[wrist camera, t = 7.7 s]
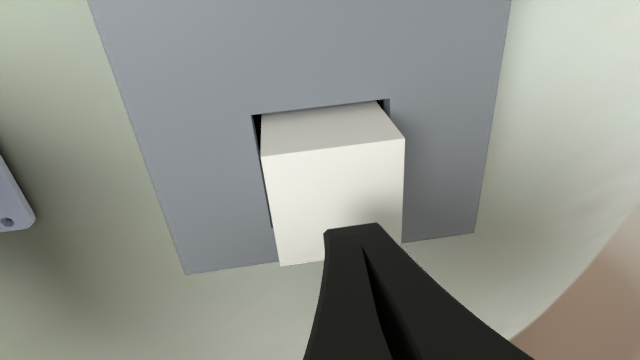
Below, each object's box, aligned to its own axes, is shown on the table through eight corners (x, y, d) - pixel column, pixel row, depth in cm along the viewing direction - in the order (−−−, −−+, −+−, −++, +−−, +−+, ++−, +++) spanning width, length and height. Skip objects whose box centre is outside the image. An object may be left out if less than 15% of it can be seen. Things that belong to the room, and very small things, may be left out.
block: (277, 206, 15) (280, 266, 12) (261, 112, 13) (260, 156, 10) (374, 193, 16) (400, 248, 13) (373, 98, 13) (405, 138, 10)
